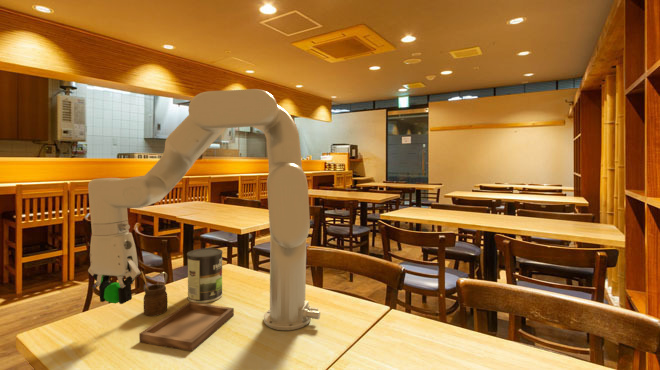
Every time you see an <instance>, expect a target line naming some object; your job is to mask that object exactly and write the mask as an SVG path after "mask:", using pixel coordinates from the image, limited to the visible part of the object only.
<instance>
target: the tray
mask: <svg viewBox="0 0 660 370" xmlns="http://www.w3.org/2000/svg"><path fill="white" fill-rule="evenodd" d="M234 311H235V310H234V307H227V306H221V305H213V304H207V303H193V302H190V301H189V302H187V303H186V304H184V305H182V306H181V307H178V309H176V310H174V311H173V312H171V313H170V314H168V315H166V316H165V317H163V318H161V319H160V320H159V321H157V322H154V324H152V325H151V326H149V327H147V328H146V329H144V330H143V331H141V332H139V335H138V336H139V343H141V344H148V345H151V346H152V345H153V346H159V347H165V348H169V349H174V350H180V351H182V350H183V351H186V352H193V351H194V350H196V349H197V348H198V347H199V346H200V345H201V344H202V343H204V342H205V341H206V340H207V339H208V338H210V337H211V336H212V335H213V334H214V333H215V332H216V331H218V330H219V329H220V328H221V327H222V326H223V325H225V323H226V324H227V322H229V320H230V319H231V318H232V317H234V315H235V314H234V313H235V312H234Z"/></svg>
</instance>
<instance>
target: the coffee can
mask: <svg viewBox="0 0 660 370" xmlns="http://www.w3.org/2000/svg"><path fill="white" fill-rule="evenodd" d="M186 257H187V300H188V301H189V302H193V303H201V304H207V303H211V302H214V301H218V300H219V299H221V298H222V297H223V250H222V249H220V248H214V247H206V248H205V247H202V248H197V249H193V250H190V251H187V253H186Z"/></svg>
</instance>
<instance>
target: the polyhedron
mask: <svg viewBox="0 0 660 370" xmlns="http://www.w3.org/2000/svg"><path fill="white" fill-rule="evenodd" d="M118 288H120V284H119V281H118V282H116V281H115V282H112V283H111V284H110V285H108V286H107V287H106V288H105V292H104V299H105V300H106V301H105V302H108V303H111V304H118V303H119V294H118Z"/></svg>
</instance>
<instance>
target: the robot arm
mask: <svg viewBox="0 0 660 370" xmlns="http://www.w3.org/2000/svg"><path fill="white" fill-rule="evenodd" d="M236 128H253V129H256V130H260V131H261V132H263V134H264V136H265V139H266V149H267V161H268V162H267V163H268V176H267V178H266V189H267V190H266V192H267V193H266V194H267V207H268V222H269V233H270V235H269V237H270V238H269V239H270V240H269V241H270V242H269V244H270V248H269V253H270V255H269V257H270V258H269V262H270V264H269V310H267V311H266V312H265V313H264V314H263V323H264V324H265V326H267V327H269V328H271V329H273V330H277V331H294V330H298V329H301V328H303V327H306V326H307V325H308V324H309V323H310V322H311V320H312V319H313V320H320V318H321V311H319V308H318V307H311V306H309V301H308V300H306V286H307V285H306V283H307V282H306V280H307V279H306V277H307V275H306V274H307V273H306V272H307V239H308V237H309V233H310V229H311V228H310V227H311V226H310V225H311V223H310V222H311V221H310V220H311V218H310V201H309V200H310V199H309V197H310V196H309V185H308V180H307V175H306V173H305V171H304V170H303V166H302V153H301V151H302V150H301V143H300V141H301V140H300V136H299V130H298V127H297V124H296V122H295V120H294V119H293V117H292V116H291V115H290V114H289V113H288V111H286V110H285V109H284V108H283V107H281V106H280V105H278V103H277V100H276V98H275V97H274V95H272V94H271V93H270V92H268V91H266V90H263V89H258V88H251V89H250V88H247V89H231V90H210V91H204V92H199V93H198V94H196V95H195V96H194V97H192V99H191V100H190V101H189V104H188V115H187V116H186V117H185V118H184V119H183V121H182V122H180V124H178V126H176V128H175V129H174V130H172V132H171V133H169V135H168V136H167V137H166V138H165V143H164V151H163V153H162V154H161V157H160V158H159V160H158V161H156V163H155V164H154V165H153V166H152V168H151V169H150V170H148V171H147V173H145V174H144V175H138V176H133V177H127V178H119V177H105V178H104V177H103V178H94V179H91V180H89V182H88V186H87V187H88V189H87V190H88V203H89V213H90V224H91V225H90V226H91V236H90V244H89V246H90V248H89V259H90V260H89V261H90V266H89V268H88V269H87V271H88V273H89V274H90V275H91V276H92V278H93V279H94V280H95V281H96V282H95V283H96V286H97V287H98V290H99V291H98V293H99V302H101V303H104V302H107V301H106V300H105V299H104V292H105V288H106V287H107V286H108V285H110V284H111V283H113V281H111V277H116V278H117V281H118V283H119V284H120V288H118V294H119V302H118V303H119V304H120V305H124V304H125V303H127V302H130V301H131V300H132V298H133V296H132V285H133V283H134V281H135V280H136V279H137V278H138V277H139V276H140V275H142V271H140V269H139V263H138V262H139V261H138V254H137V248H136V244H135V240H134V237H133V233H132V232H130V228H131V225H130V224H129V219H128V217H129V215H128V209H141V208H145V207H146V208H147V207H148V206H151V205H153V204H156V203H158V202H160V201H162V200H163V199H164V198H165V197H166V196H167V195H168V194H169V193H170V192H171V191H172V190H173V189H174V188H175V186H177V184H178V183H179V182H180V181H181V180H183V178H184V177H185V175H186V174H187V173H188V172H189V170H190V169H191V168H192V167H193V166H194V165H195V163H196V161H197V160H198V159H199V158H200V157H201V156H202V155H203V154H204V153H205V152H206V151H207V149H208V148H210V146H211V145H212V144H213V143H215V141H216V140H217V139H218V138H219V137H220V136H221V135H222V133H224V132H225V130H226V129H236ZM124 277H125V278H124Z"/></svg>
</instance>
